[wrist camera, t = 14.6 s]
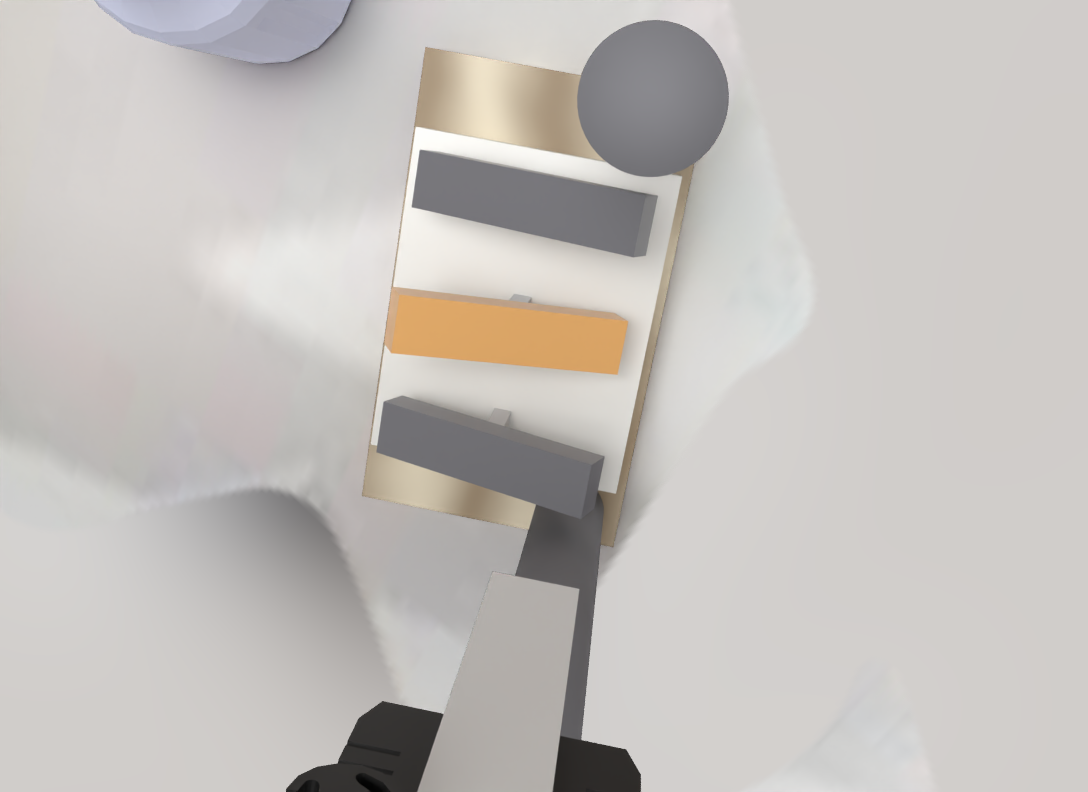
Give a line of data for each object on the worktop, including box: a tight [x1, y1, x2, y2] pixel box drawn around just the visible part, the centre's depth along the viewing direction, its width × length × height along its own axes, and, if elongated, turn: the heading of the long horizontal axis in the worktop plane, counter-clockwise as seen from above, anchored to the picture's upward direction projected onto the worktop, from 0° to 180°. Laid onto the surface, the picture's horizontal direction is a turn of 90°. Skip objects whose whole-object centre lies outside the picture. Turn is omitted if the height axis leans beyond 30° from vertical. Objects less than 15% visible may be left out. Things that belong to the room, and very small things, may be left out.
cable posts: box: [515, 20, 729, 740], centre depth 37 cm, size 3×22×24 cm, turn 170°
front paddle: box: [412, 150, 658, 257], centre depth 42 cm, size 10×2×2 cm, turn 79°
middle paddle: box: [384, 287, 628, 375], centre depth 43 cm, size 10×2×2 cm, turn 80°
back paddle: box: [376, 396, 605, 519], centre depth 44 cm, size 10×2×2 cm, turn 79°
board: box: [362, 47, 694, 547], centre depth 50 cm, size 13×22×2 cm, turn 170°
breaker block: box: [371, 127, 682, 494], centre depth 46 cm, size 12×15×5 cm
